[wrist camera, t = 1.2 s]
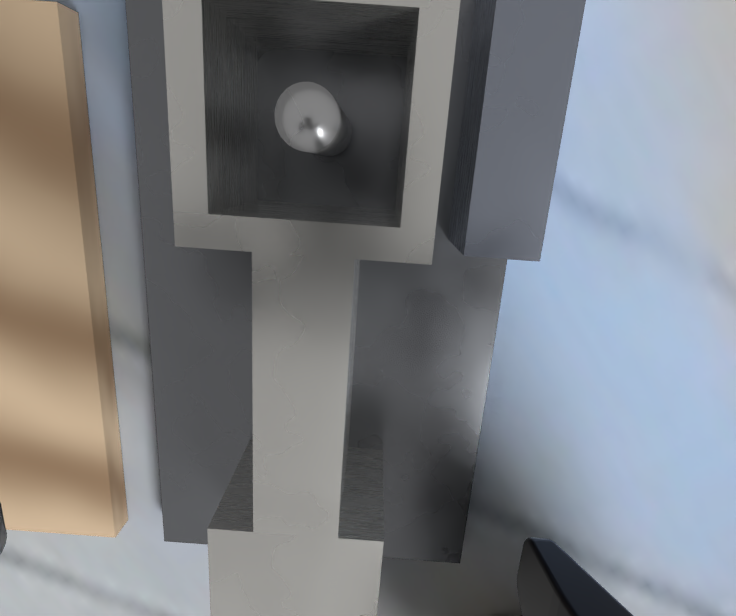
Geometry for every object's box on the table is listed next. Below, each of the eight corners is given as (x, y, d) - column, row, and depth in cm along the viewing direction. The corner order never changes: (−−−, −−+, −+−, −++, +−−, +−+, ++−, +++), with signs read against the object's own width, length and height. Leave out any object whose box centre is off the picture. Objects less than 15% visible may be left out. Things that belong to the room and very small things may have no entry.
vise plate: (456, 544, 20) (483, 679, 15) (174, 523, 20) (101, 650, 15) (537, 7, 14) (629, -88, 9) (140, -21, 14) (-1, -130, 9)
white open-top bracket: (387, 537, 19) (389, 648, 14) (237, 526, 19) (195, 634, 14) (437, 27, 13) (464, -37, 9) (229, 13, 14) (158, -58, 9)
